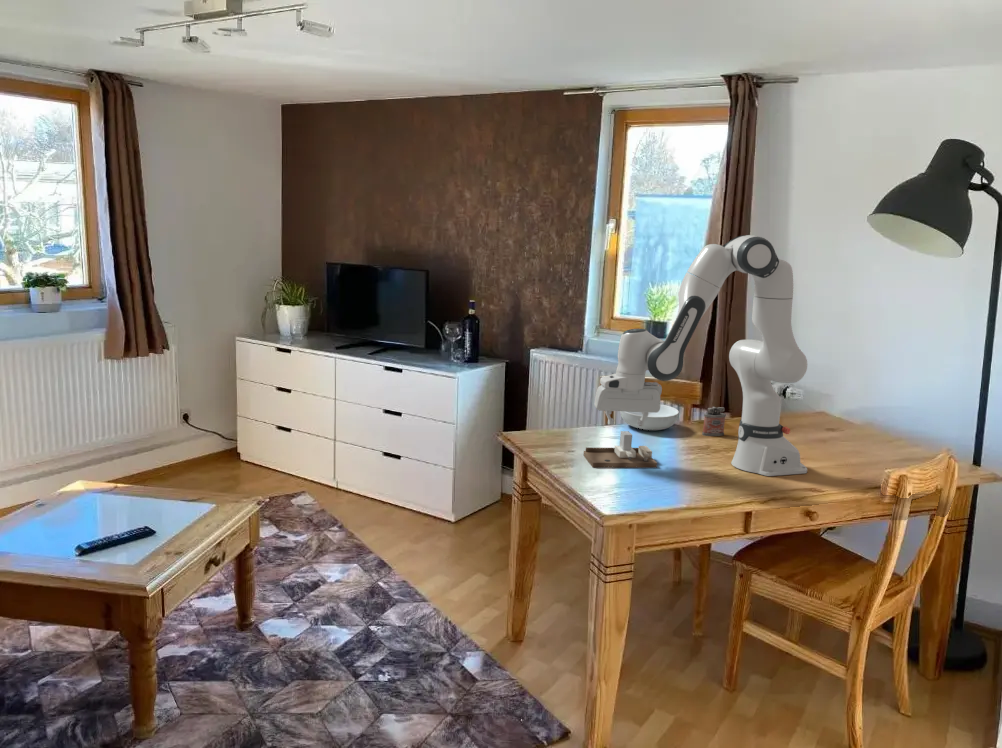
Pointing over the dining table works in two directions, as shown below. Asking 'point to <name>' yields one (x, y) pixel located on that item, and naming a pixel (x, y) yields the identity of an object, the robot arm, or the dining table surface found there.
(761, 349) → the robot arm
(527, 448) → the dining table surface
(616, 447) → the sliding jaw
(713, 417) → the lighter
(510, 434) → the dining table surface
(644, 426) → the serving bowl
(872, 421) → the dining table surface
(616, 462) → the brown board with blocks
